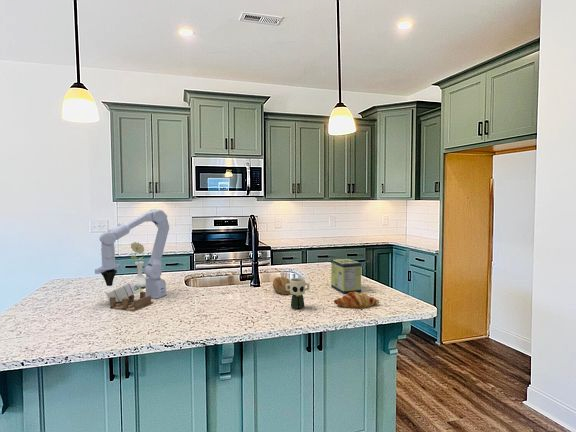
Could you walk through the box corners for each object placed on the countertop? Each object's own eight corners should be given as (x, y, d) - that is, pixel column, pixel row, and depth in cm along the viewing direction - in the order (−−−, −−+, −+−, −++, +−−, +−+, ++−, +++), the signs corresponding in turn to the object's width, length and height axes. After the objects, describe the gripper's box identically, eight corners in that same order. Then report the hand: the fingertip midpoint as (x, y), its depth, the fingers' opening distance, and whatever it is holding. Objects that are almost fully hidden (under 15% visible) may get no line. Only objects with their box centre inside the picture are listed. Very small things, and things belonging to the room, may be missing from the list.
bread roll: (277, 296, 189) (277, 281, 188) (269, 289, 203) (269, 274, 202) (295, 295, 192) (295, 279, 191) (286, 287, 206) (286, 273, 205)
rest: (153, 302, 179) (153, 292, 178) (133, 311, 167) (133, 300, 166) (130, 300, 183) (130, 290, 183) (110, 308, 171) (109, 297, 171)
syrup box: (110, 305, 176) (135, 294, 173) (105, 293, 176) (130, 282, 173) (118, 301, 182) (142, 290, 178) (113, 290, 182) (137, 279, 178)
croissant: (376, 310, 177) (374, 293, 180) (383, 306, 168) (381, 288, 171) (332, 311, 175) (331, 294, 178) (337, 307, 166) (335, 289, 169)
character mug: (286, 310, 166) (286, 281, 165) (284, 305, 173) (284, 278, 172) (310, 309, 167) (310, 281, 167) (308, 304, 174) (308, 277, 174)
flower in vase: (155, 285, 212) (154, 241, 210) (137, 290, 202) (136, 244, 200) (140, 282, 219) (139, 240, 217) (123, 287, 209) (121, 242, 207)
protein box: (347, 285, 210) (347, 258, 209) (361, 292, 195) (361, 263, 194) (330, 287, 207) (330, 259, 206) (343, 294, 192) (343, 264, 191)
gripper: (113, 254, 186) (114, 281, 187) (89, 259, 172) (90, 288, 173) (124, 255, 184) (125, 282, 184) (101, 260, 170) (102, 289, 171)
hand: (109, 285), depth 179 cm, fingers closed
